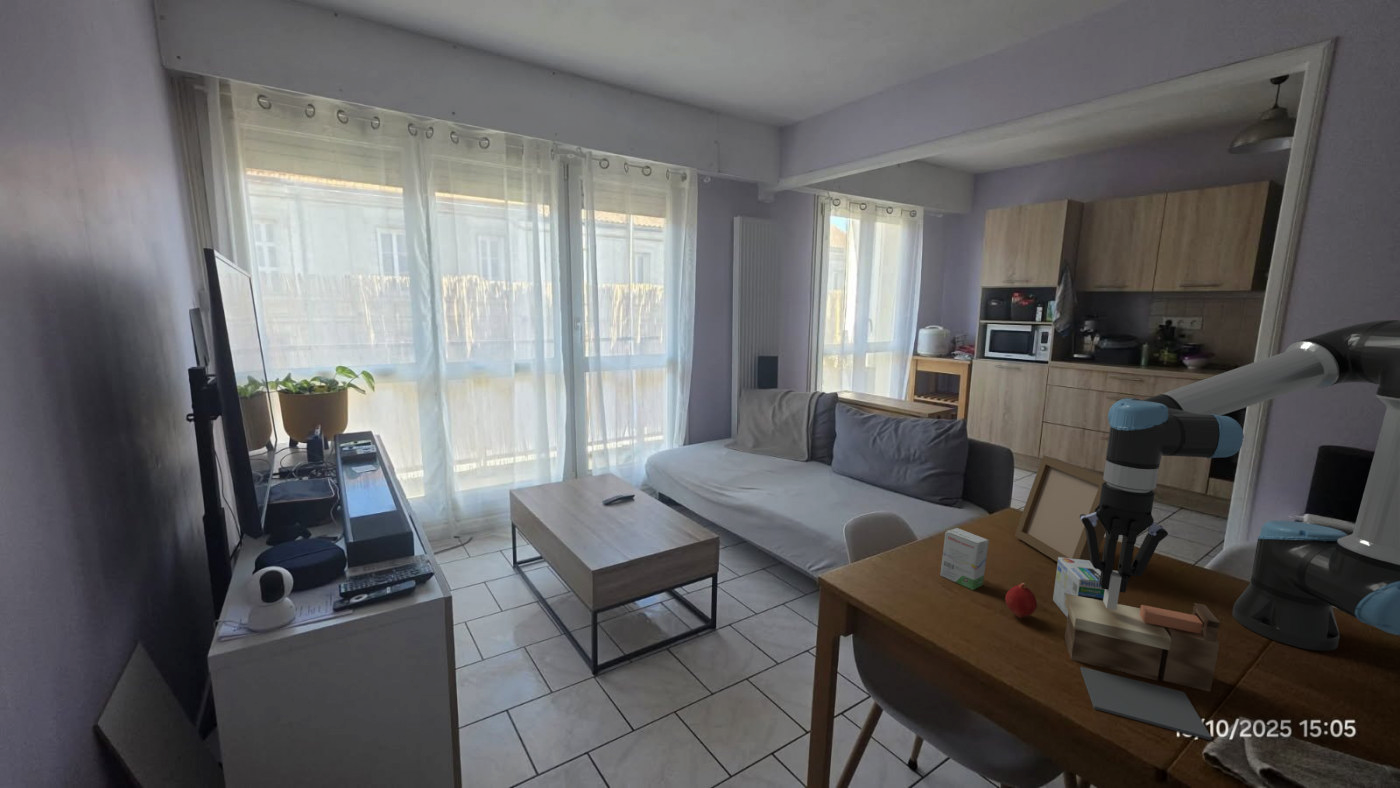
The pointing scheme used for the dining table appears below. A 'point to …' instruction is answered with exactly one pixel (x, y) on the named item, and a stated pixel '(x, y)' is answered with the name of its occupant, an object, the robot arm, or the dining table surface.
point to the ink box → (964, 558)
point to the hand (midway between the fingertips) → (1109, 605)
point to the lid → (1115, 622)
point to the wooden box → (1154, 653)
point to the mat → (1143, 702)
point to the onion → (1021, 600)
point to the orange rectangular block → (1171, 619)
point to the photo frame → (1061, 510)
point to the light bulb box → (1076, 581)
